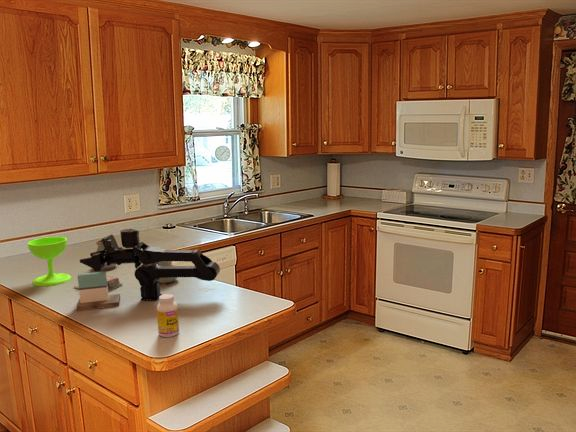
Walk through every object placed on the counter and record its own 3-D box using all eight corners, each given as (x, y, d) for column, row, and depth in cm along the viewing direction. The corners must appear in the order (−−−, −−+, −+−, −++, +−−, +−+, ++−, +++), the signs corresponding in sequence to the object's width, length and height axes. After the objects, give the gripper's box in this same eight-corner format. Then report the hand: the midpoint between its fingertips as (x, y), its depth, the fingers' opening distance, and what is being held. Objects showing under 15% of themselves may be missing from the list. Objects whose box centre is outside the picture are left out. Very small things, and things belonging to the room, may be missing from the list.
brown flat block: (120, 297, 216) (119, 293, 216) (119, 305, 207) (118, 302, 207) (80, 301, 213) (79, 298, 213) (76, 310, 203) (76, 306, 203)
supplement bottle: (166, 339, 175) (163, 301, 172) (154, 334, 179) (151, 297, 177) (183, 332, 180) (180, 295, 177) (171, 328, 184) (168, 291, 182)
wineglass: (54, 273, 252) (49, 235, 249) (79, 277, 245) (75, 238, 242) (24, 283, 238) (18, 243, 234) (50, 288, 231) (45, 246, 227)
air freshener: (181, 279, 238) (180, 256, 236) (173, 285, 230) (171, 262, 228) (159, 277, 240) (157, 255, 239) (149, 283, 233) (147, 261, 231)
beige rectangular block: (108, 297, 212) (107, 284, 211) (108, 300, 209) (106, 286, 208) (81, 300, 209) (79, 287, 208) (80, 303, 207) (78, 289, 206)
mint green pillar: (107, 283, 210) (105, 271, 210) (106, 285, 208) (105, 273, 207) (79, 286, 208) (78, 274, 207) (78, 288, 206) (77, 275, 205)
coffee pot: (90, 267, 261) (87, 236, 258) (114, 262, 267) (112, 232, 264) (102, 277, 243) (98, 245, 240) (127, 273, 249) (124, 240, 246)
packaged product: (122, 275, 231) (106, 282, 222) (123, 286, 232) (107, 293, 223) (89, 271, 238) (72, 278, 229) (90, 281, 239) (73, 289, 230)
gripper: (130, 230, 220) (92, 232, 221) (111, 241, 201) (71, 243, 203) (133, 257, 222) (96, 258, 223) (115, 270, 204) (75, 272, 205)
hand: (85, 257), depth 214 cm, fingers open, 9 cm apart
